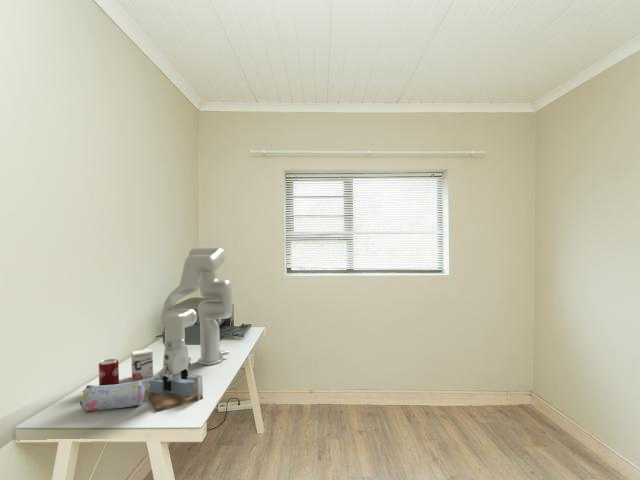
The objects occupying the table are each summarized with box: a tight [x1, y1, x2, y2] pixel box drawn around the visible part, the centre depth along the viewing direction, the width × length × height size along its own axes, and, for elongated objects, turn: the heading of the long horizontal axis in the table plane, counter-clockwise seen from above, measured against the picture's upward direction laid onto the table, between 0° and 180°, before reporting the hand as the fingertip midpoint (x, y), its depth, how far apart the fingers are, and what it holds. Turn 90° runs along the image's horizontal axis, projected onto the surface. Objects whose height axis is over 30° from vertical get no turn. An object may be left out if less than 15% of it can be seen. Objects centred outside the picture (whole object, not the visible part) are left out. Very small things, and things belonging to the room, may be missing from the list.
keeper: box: [187, 374, 204, 402], centre depth 141 cm, size 6×3×9 cm, turn 71°
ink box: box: [130, 348, 154, 381], centre depth 165 cm, size 8×5×12 cm, turn 123°
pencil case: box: [79, 380, 146, 412], centre depth 135 cm, size 21×9×10 cm, turn 98°
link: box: [148, 375, 194, 396], centre depth 144 cm, size 19×6×5 cm, turn 71°
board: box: [145, 387, 204, 413], centre depth 144 cm, size 17×22×1 cm
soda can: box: [98, 358, 120, 386], centre depth 151 cm, size 7×7×12 cm
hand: (176, 385), depth 144 cm, fingers open, 9 cm apart
